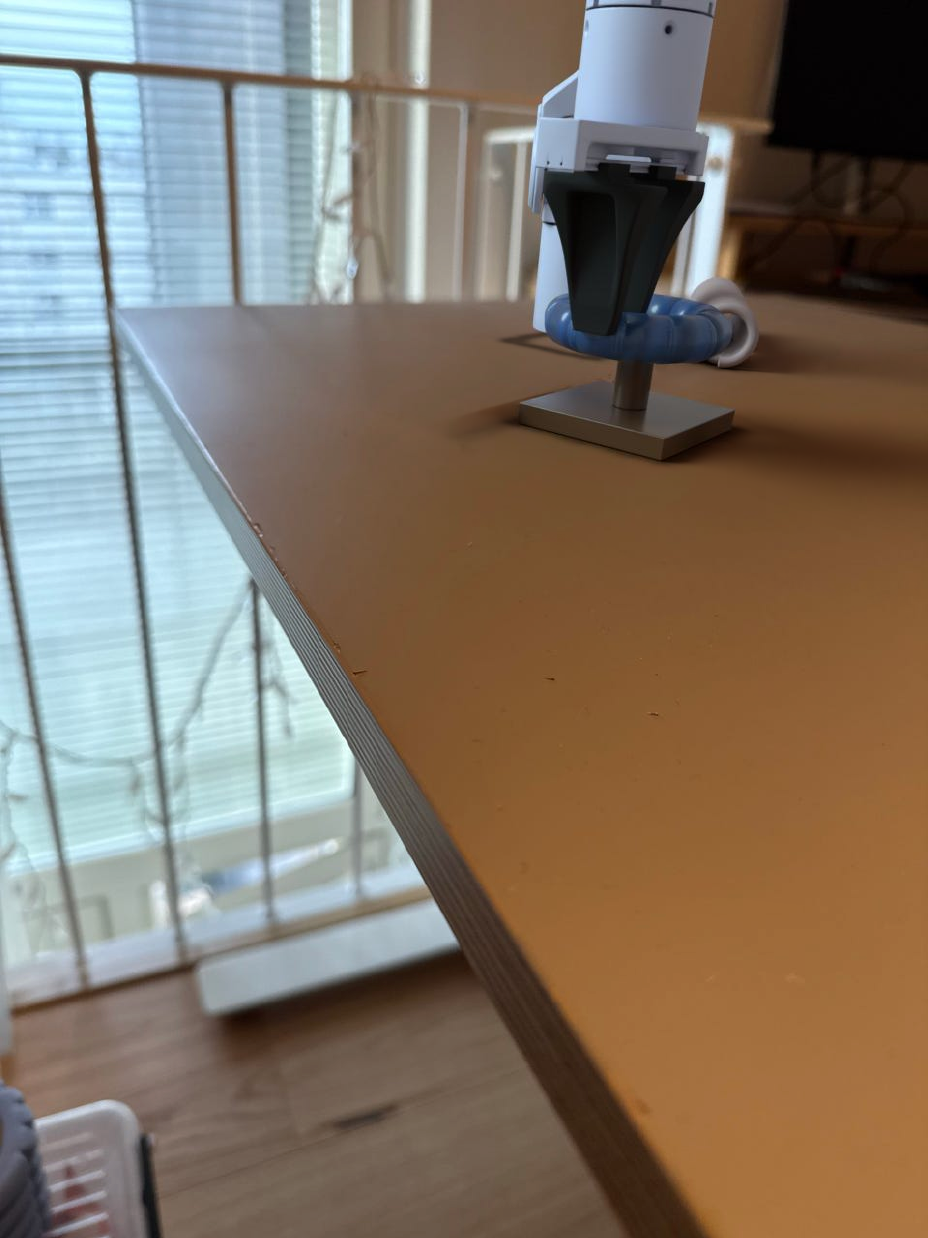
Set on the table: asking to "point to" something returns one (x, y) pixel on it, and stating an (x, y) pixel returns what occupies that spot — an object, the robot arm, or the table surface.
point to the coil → (730, 319)
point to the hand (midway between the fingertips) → (607, 329)
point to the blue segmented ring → (647, 332)
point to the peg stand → (627, 415)
